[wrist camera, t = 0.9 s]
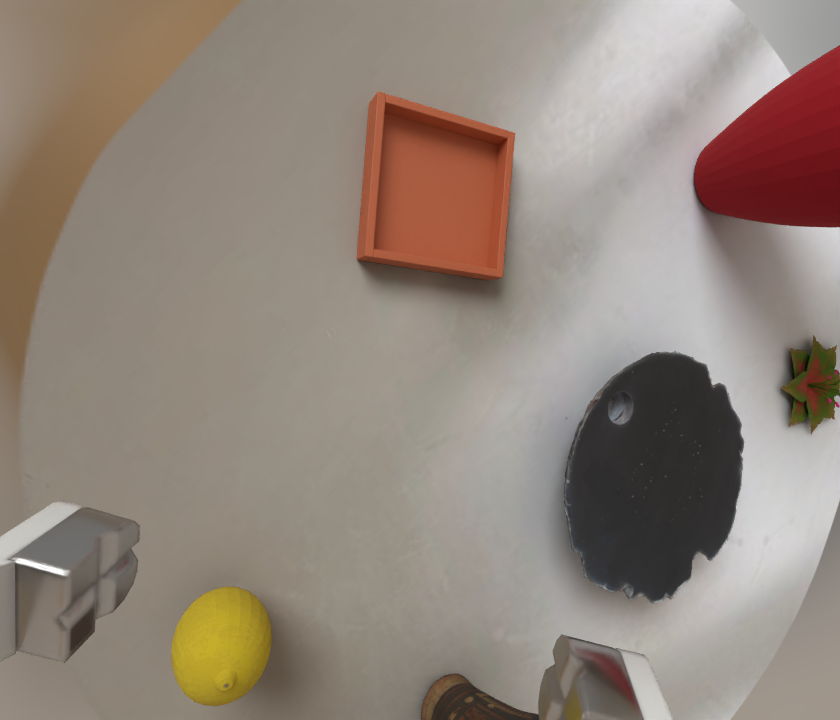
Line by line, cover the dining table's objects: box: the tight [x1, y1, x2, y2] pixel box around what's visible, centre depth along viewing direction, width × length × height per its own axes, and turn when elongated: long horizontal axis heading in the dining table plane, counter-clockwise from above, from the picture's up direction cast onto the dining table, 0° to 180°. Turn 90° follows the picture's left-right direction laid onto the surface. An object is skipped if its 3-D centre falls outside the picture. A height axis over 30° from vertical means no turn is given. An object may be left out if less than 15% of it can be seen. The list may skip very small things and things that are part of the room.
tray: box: [357, 92, 515, 280], centre depth 37 cm, size 11×11×2 cm
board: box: [564, 351, 744, 604], centre depth 45 cm, size 22×22×5 cm
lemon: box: [171, 587, 272, 706], centre depth 29 cm, size 6×6×8 cm
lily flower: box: [780, 335, 840, 434], centre depth 56 cm, size 12×12×5 cm
